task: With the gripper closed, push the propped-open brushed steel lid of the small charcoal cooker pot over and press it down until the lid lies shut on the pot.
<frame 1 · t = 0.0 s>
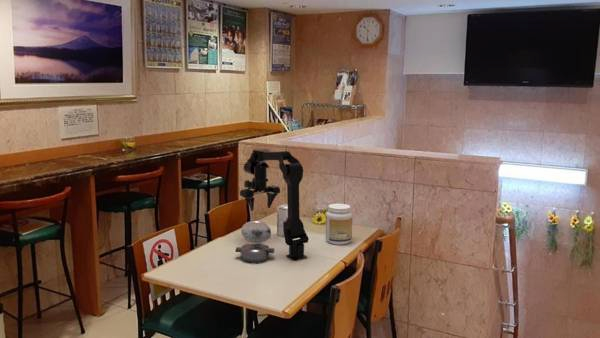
hand: (260, 209, 230), 15 cm above the table, tool pointing down, fingers open, 9 cm apart
syrup box: (285, 235, 241), on the table
supplement tub: (338, 241, 233), on the table
cooker lid: (256, 230, 211), point 11 cm above the table, hinge at 60.0°
cooker pot: (255, 258, 209), on the table
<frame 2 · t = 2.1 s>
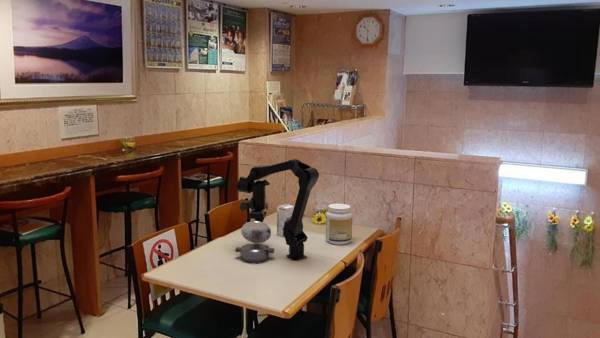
hand: (258, 229, 219), 9 cm above the table, tool pointing down, fingers closed
nothing on the table moved.
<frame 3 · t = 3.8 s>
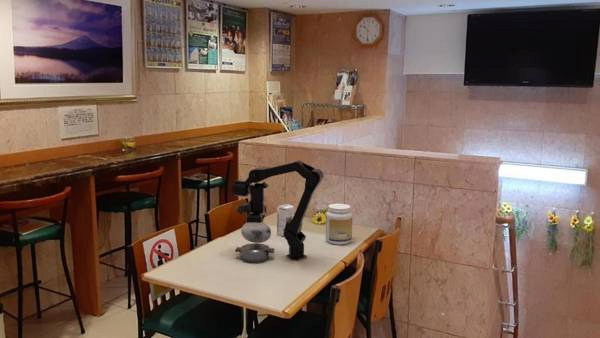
hand: (257, 232, 214), 9 cm above the table, tool pointing down, fingers closed
cooker lid: (256, 230, 211), point 11 cm above the table, hinge at 59.6°, touching gripper
everything else where it was.
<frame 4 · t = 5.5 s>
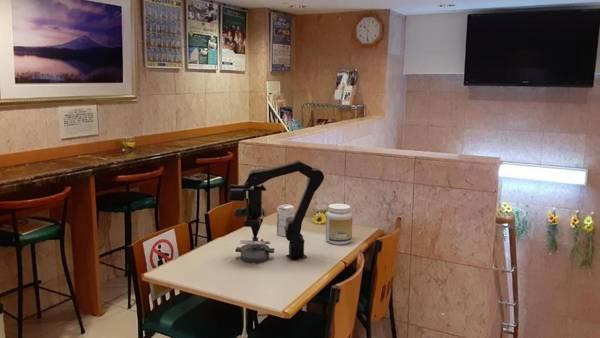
hand: (255, 237, 208), 9 cm above the table, tool pointing down, fingers closed
cooker lid: (255, 240, 208), point 8 cm above the table, hinge at 15.9°, touching gripper
everything else where it was.
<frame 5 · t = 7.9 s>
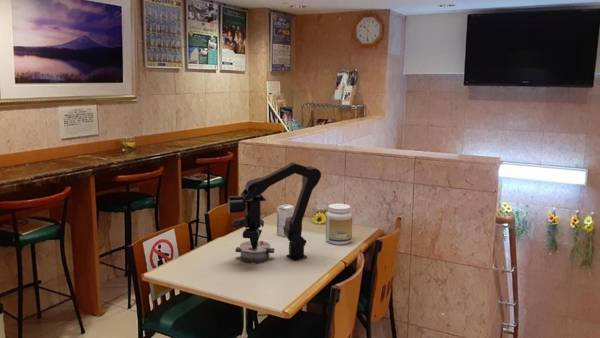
hand: (253, 248, 204), 6 cm above the table, tool pointing down, fingers closed
cooker lid: (255, 244, 208), point 6 cm above the table, hinge at -0.5°, touching cooker pot, gripper
everything else where it was.
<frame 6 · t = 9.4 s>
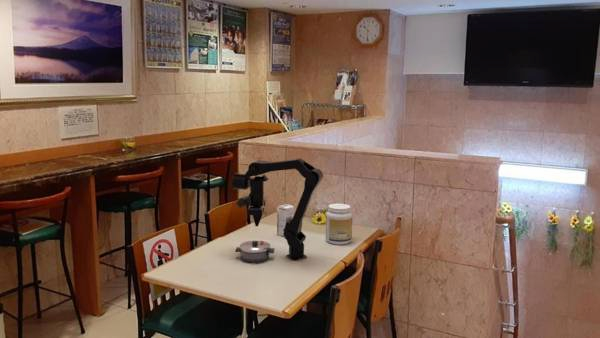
hand: (256, 226, 214), 12 cm above the table, tool pointing down, fingers closed
cooker lid: (255, 244, 208), point 6 cm above the table, hinge at -0.5°, touching cooker pot
everything else where it was.
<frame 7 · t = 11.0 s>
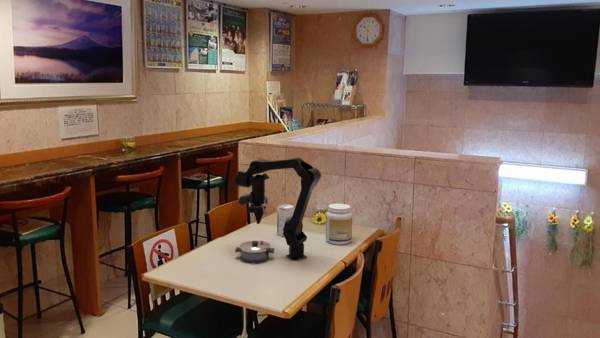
hand: (258, 223, 217), 12 cm above the table, tool pointing down, fingers closed
nothing on the table moved.
at the end: cooker lid at +0° (first picture: +60°) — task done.
